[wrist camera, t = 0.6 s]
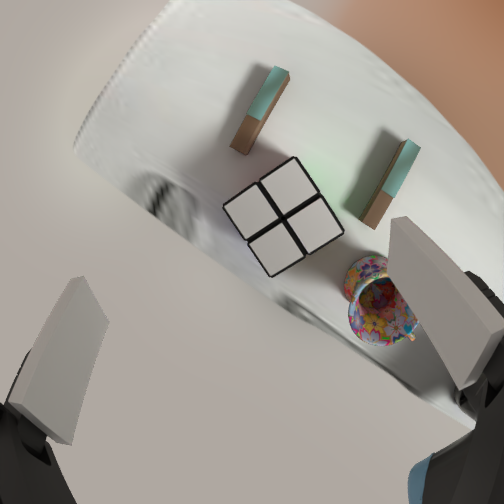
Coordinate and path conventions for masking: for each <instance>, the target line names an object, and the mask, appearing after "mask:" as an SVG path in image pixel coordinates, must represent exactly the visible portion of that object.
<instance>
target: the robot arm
mask: <svg viewBox="0 0 504 504" xmlns="http://www.w3.org/2000/svg"><path fill="white" fill-rule="evenodd" d="M387 275H388V276H389V278H390V279H391V280H392V282H393V283H394V285H395V286H396V288H397V289H398V291H399V292H400V294H401V295H402V297H403V298H404V300H405V301H406V303H407V304H408V306H409V307H410V309H411V310H412V312H413V313H414V315H415V316H416V318H417V319H418V321H419V323H420V324H421V326H422V327H423V329H424V331H425V332H426V334H427V335H428V337H429V339H430V340H431V342H432V344H433V345H434V347H435V349H436V350H437V352H438V354H439V355H440V357H441V359H442V361H443V362H444V364H445V366H446V368H447V369H448V371H449V373H450V375H451V377H452V378H453V380H454V382H455V384H456V387H455V400H456V402H457V404H458V406H459V408H460V409H461V411H463V412H464V413H465V414H467V415H468V416H469V417H471V418H472V419H473V420H475V421H476V426H475V429H474V430H472V431H470V432H469V433H467V434H466V435H464V436H463V437H461V438H460V439H458V440H456V441H455V442H453V443H452V444H450V445H449V446H447V447H445V448H443V449H441V450H440V451H438V452H436V453H432V454H431V455H430V456H429V457H427V458H426V459H424V460H422V461H420V462H419V463H417V464H415V465H414V466H413V468H412V469H411V471H410V474H409V477H408V498H409V504H504V304H503V303H502V301H501V300H500V299H499V298H498V297H497V296H495V293H494V292H493V291H492V290H491V289H489V287H488V286H487V284H486V283H485V282H484V281H483V280H482V279H481V278H480V277H478V276H477V275H475V274H473V273H472V272H470V271H467V272H463V271H462V270H461V269H460V268H459V267H458V266H457V265H456V264H455V263H454V262H453V260H452V259H451V258H450V257H449V256H448V255H447V254H446V253H445V252H444V251H443V250H442V249H441V248H440V247H439V246H438V245H437V244H436V243H435V242H434V241H433V240H431V239H430V238H429V237H428V236H427V235H426V234H425V233H424V232H423V231H422V230H421V229H420V228H419V227H418V226H417V225H416V224H415V223H413V222H412V221H411V220H410V219H409V218H408V217H407V216H405V217H399V218H394V219H391V230H390V243H389V255H388V265H387ZM108 325H109V320H108V319H107V317H106V315H105V314H104V312H103V310H102V308H101V307H100V305H99V303H98V301H97V300H96V298H95V296H94V294H93V292H92V290H91V289H90V287H89V285H88V283H87V281H86V279H85V277H84V276H82V277H77V278H72V279H71V280H70V281H69V283H68V284H67V286H66V288H65V289H64V291H63V293H62V294H61V296H60V298H59V299H58V301H57V303H56V304H55V306H54V308H53V310H52V312H51V313H50V315H49V317H48V318H47V320H46V322H45V324H44V326H43V328H42V329H41V331H40V333H39V335H38V337H37V339H36V341H35V343H34V345H33V347H32V348H31V350H30V351H29V352H28V353H27V354H26V356H25V358H24V360H23V363H22V364H21V368H20V369H19V371H18V373H17V374H18V375H17V376H16V377H15V379H14V382H13V384H12V386H11V389H10V391H9V394H8V396H7V398H6V401H5V403H4V405H3V404H2V403H0V504H77V503H76V501H75V499H74V497H73V495H72V493H71V491H70V490H69V487H68V486H67V483H66V481H65V479H64V477H63V475H62V473H61V470H60V468H59V465H58V463H57V461H56V458H55V456H54V453H53V451H52V448H51V446H50V444H49V443H48V442H47V441H46V437H47V436H49V437H50V438H51V439H53V440H54V441H55V442H57V443H61V444H66V445H72V441H73V437H74V432H75V429H76V425H77V421H78V417H79V413H80V410H81V407H82V403H83V400H84V396H85V392H86V389H87V386H88V383H89V379H90V376H91V373H92V370H93V367H94V364H95V361H96V358H97V355H98V352H99V349H100V347H101V344H102V341H103V338H104V335H105V333H106V330H107V327H108Z"/></svg>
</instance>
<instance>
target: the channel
mask: <svg viewBox="0 0 504 504" xmlns="http://www.w3.org/2000/svg"><path fill="white" fill-rule="evenodd" d="M289 81H290V76H289V71H286V70H284V69H282V68H279V67H277V66H274V68H273V69H272V71H271V72H270V74H269V76H268V77H267V79H266V81H265V82H264V84H263V86H262V87H261V89H260V91H259V93H258V94H257V96H256V98H255V99H254V101H253V103H252V105H251V106H250V108H249V110H248V112H247V113H246V114H247V115H246V117H245V119H244V121H243V123H242V124H241V126H240V128H239V130H238V132H237V133H236V135H235V137H234V139H233V141H232V143H231V145H230V146H229V147H231V148H233V149H235V150H237V151H239V152H241V153H243V154H245V155H247V154H248V153H249V151H250V149H251V147H252V145H253V144H254V142H255V140H256V138H257V136H258V135H259V133H260V131H261V129H262V127H263V126H264V124H265V122H266V120H267V119H268V117H269V115H270V113H271V111H272V110H273V108H274V106H275V105H276V103H277V101H278V99H279V98H280V96H281V94H282V93H283V91H284V89H285V87H286V86H287V84H288V82H289ZM420 149H421V147H419V146H418V145H416V144H415V143H414V142H412V141H411V140H409V139H407V140H405V141H403V142H401V144H400V146H399V148H398V150H397V152H396V154H395V156H394V158H393V160H392V161H391V163H390V165H389V167H388V169H387V171H386V172H385V174H384V176H383V178H382V180H381V182H380V183H379V185H378V187H377V189H376V191H375V192H374V194H373V196H372V198H371V199H370V201H369V203H368V205H367V206H366V208H365V210H364V211H363V213H362V215H361V217H360V218H359V220H360V221H361V222H363V223H364V224H366V225H367V226H369V227H371V228H372V229H374V230H375V229H376V227H377V225H378V224H379V222H380V220H381V219H382V217H383V215H384V213H385V212H386V210H387V208H388V206H389V205H390V203H391V201H392V199H393V198H395V196H396V194H397V192H398V190H399V189H400V187H401V185H402V183H403V181H404V179H405V178H406V176H407V174H408V172H409V170H410V168H411V166H412V164H413V162H414V160H415V158H416V156H417V155H418V153H419V151H420Z"/></svg>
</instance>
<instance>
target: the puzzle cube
mask: <svg viewBox="0 0 504 504" xmlns="http://www.w3.org/2000/svg"><path fill="white" fill-rule="evenodd" d="M222 208H223V210H224V211H225V213H226V214H227V216H228V217H229V219H230V220H231V222H232V223H233V225H234V226H235V228H236V229H237V230H238V232H239V233H240V235H241V236H242V238H243V239H244V240H245V241H248V244H247V245H248V247H249V248H250V250H251V251H252V253H253V254H254V256H255V257H256V259H257V260H258V262H259V263H260V265H261V266H262V268H263V269H264V270H265V272H266V273H267V275H268V276H269V277H271V278H273V277H275V276H277V275H278V274H280V273H281V272H283V271H285V270H286V269H288V268H290V267H291V266H293V265H295V264H296V263H298V262H300V261H301V260H303V259H304V258H305V257H306V254H308V255H311V254H313V253H314V252H316V251H318V250H319V249H321V248H323V247H324V246H326V245H327V244H329V243H331V242H332V241H334V240H335V239H337V238H338V237H340V236H342V235H343V234H344V231H345V230H344V228H343V226H342V225H341V223H340V222H339V220H338V218H337V217H336V215H335V214H334V212H333V210H332V209H331V207H330V206H329V204H328V203H327V201H326V199H325V198H324V196H323V195H322V194H321V193H320V190H319V189H318V187H317V186H316V184H315V183H314V181H313V180H312V178H311V177H310V175H309V174H308V172H307V171H306V169H305V168H304V166H303V165H302V164H301V162H300V161H299V159H298V158H297V157H294V156H292V157H291V158H289V159H288V160H286V161H285V162H283V163H282V164H280V165H279V166H277V167H276V168H274V169H273V170H272V171H270V172H269V173H267V174H266V175H264V176H263V177H261V178H260V179H259V182H254V183H252V184H251V185H249V186H248V187H246V188H245V189H244V190H242V191H241V192H239V193H238V194H237V195H235V196H234V197H232V198H231V199H230V200H228V201H227V202H225V203H224V204H223V207H222Z"/></svg>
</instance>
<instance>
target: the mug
mask: <svg viewBox="0 0 504 504" xmlns="http://www.w3.org/2000/svg"><path fill="white" fill-rule="evenodd" d="M387 265H388V259H387V258H384V257H381V256H367V257H364V258H362V259H360V260H358V261H357V262H356V263H355V264H353V266H352V267H351V268H350V269H349V271H348V273H347V275H346V278H345V283H344V290H345V294H346V297H347V299H348V300H349V302H350V305H349V310H348V317H349V323H350V326H351V328H352V330H353V332H354V333H355V334H356V336H357V337H358V338H360V339H361V340H362V341H364V342H366V343H368V344H371V345H376V346H386V345H391V344H394V343H397V342H399V341H401V340H403V339H404V338H406V337H408V338H409V339H410V340H411V341H414V340H415V339H416V337H415V335H414V333H413V332H412V331H413V330H414V329H415V328H416V326H417V325H418V323H419V321H418V319H417V318H416V316H415V315H414V313H413V312H412V310H411V309H410V307H409V306H408V304H407V303H406V301H405V300H404V298H403V297H402V295H401V294H400V292H399V291H398V289H397V288H396V286H395V285H394V283H393V282H392V280H391V279H390V278H389V276H388V275H387Z"/></svg>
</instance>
